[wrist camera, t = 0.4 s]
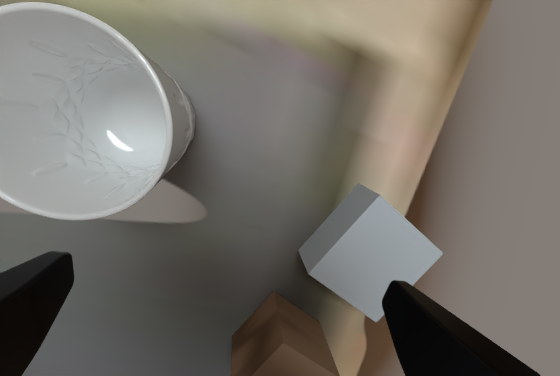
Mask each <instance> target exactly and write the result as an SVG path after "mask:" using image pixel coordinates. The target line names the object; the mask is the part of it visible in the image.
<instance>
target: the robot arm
mask: <svg viewBox="0 0 560 376" xmlns="http://www.w3.org/2000/svg"><path fill="white" fill-rule="evenodd" d="M73 283H74V271H73V261H72V256H71V254H70V253H68V252H59V251H50V252H47V253H45V254H42V255H40V256H38V257H36V258H33V259H31V260H29V261H27V262H24V263H22V264H20V265H18V266H15V267H13V268H11V269H9V270H7V271H4V272H2V273H0V376H22V374H23V373H24V371H25V370H26V368H27V367H28V365H29V364H30V362H31V361H32V359H33V357H34V356H35V354H36V353H37V351H38V350H39V348H40V346H41V344H42V343H43V341H44V339H45V337H46V335H47V333H48V331H49V330H50V328H51V326H52V324H53V322H54V320H55V318H56V316H57V315H58V313H59V311H60V309H61V307H62V305H63V303H64V301H65V299H66V298H67V296H68V294H69V292H70V290H71V288H72V286H73ZM382 308H383V311H384V314H385V317H386V321H387V324H388V327H389V330H390V333H391V337H392V340H393V343H394V347H395V349H396V352H397V355H398V358H399V361H400V363H401V366H402V368H403V371H404V373H405V376H540V375H539V374H538V373H537V372H535V371H534V370H533V369H531V368H530V367H528V366H527V365H526V364H524V363H523V362H521V361H520V360H518V359H517V358H515V357H514V356H513V355H511V354H510V353H508V352H507V351H505V350H504V349H502V348H501V347H500V346H498V345H497V344H495V343H494V342H492V341H491V340H490V339H488V338H487V337H485V336H484V335H482V334H481V333H479V332H478V331H477V330H475V329H474V328H472V327H471V326H469V325H468V324H467V323H465V322H463V321H462V320H461V319H459V318H458V317H456V316H455V315H454V314H452V313H451V312H449V311H448V310H446V309H445V308H444V307H442V306H441V305H439V304H438V303H436V302H435V301H433V300H432V299H430V298H429V297H427V296H426V295H425V294H423V293H422V292H420V291H419V290H418V289H416V288H415V287H413V286H412V285H410V284H409V283H408V282H406V281H400V280H393V281H391V282H390V284H389V286H388V288H387V290H386V292H385V294H384V296H383V299H382Z"/></svg>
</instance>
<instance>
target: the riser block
mask: <svg viewBox="0 0 560 376" xmlns="http://www.w3.org/2000/svg"><path fill="white" fill-rule="evenodd" d="M298 252H299V254H300V256H301V258H302V261H303V263H304V265H305V268H306V270H307V272H308V274H309V275H311V276H312V277H313V278H315V279H316V280H318V281H319V282H320V283H322V284H323V285H325V286H326V287H327V288H329V289H330V290H332V291H333V292H334V293H336V294H337V295H339V296H340V297H341V298H343V299H344V300H346V301H347V302H348V303H350V304H351V305H353V306H354V307H355V308H357V309H358V310H360V311H361V312H362V313H364V314H365V315H367V316H368V317H369V318H371V319H372V320H374V321H375V322H377V321H378V320H379V319H380V318H381V317H382V316H383V315H384V311H383V308H382V299H383V296H384V294H385V292H386V290H387V288H388V286H389V284H390V282H391V281H393V280H400V281H406V282H408V283H409V284H410V285H413V284H414V283H415V282H416V281H417V280H418V279H419V278H420V277H421V276H422V275H423V274H424V273H425V272H426V271H427V270H428V269H429V268H430V267H431V266H432V265H433V264H434V263H435V262H436V261H437V259H438V258H439V257H440V256H441V255H442V254H443V253H442V252H441V251H440V250H439V249H438V248H437V247H436V246H435V245H434V244H432V243H431V242H430V241H429V240H428V239H427V238H426V237H425V236H424V235H423V234H422V233H421V232H419V231H418V230H417V229H416V228H415V227H414V226H413V225H412V224H411V223H410V222H409V221H408V220H407V219H405V218H404V217H403V216H402V215H401V214H400V213H399V212H398V211H397V210H396V209H395V208H393V207H392V206H391V205H390V204H389V203H388V202H387V201H386V200H385V199H384V198H383V197H381V196H380V195H379V194H377V193H375V192H374V191H372V190H370V189H368V188H366V187H365V186H363V185H361V184H359V183H358V184H357V185H356V186H355V187H354V188H353V190H352V191H351V192H350V193H349V194H348V195H347V196H346V197H345V199H344V200H343V201H342V202H341V203H340V204H339V205H338V206H337V207H336V209H335V210H334V211H333V212H332V213H331V214H330V215H329V216H328V218H327V219H326V220H325V221H324V222H323V223H322V224H321V225H320V227H319V228H318V229H317V230H316V231H315V232H314V233H313V234H312V235H311V237H310V238H309V239H308V240H307V241H306V242H305V243H304V244H303V246H302V247H301V248H300V249H299V250H298Z"/></svg>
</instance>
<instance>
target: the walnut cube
mask: <svg viewBox="0 0 560 376" xmlns="http://www.w3.org/2000/svg"><path fill="white" fill-rule="evenodd" d="M231 376H340V375H339V373H338V370H337V367H336V365H335V362H334V360H333V357H332V354H331V352H330V349H329V346H328V344H327V341H326V339H325V336H324V333H323V331H322V328H321V325H320V323H319V322H318V321H317V320H316V319H314V318H313V317H311V316H310V315H308V314H307V313H305V312H304V311H302V310H301V309H299V308H298V307H296V306H295V305H293V304H292V303H290V302H289V301H287V300H286V299H285V298H283V297H282V296H280V295H279V294H277V293H276V292H274V291H273V292H272V293H271V294H270V295H269V297H268V298H267V299H266V300H265V301H264V302H263V303H262V304H261V305H260V306H259V307H258V309H257V310H256V311H255V312H254V313H253V314H252V315H251V316H250V317H249V318H248V319H247V320H246V322H245V323H244V324H243V325H242V326H241V327H240V328H239V329H238V330H237V331H236V332H235V334H234V335H233V336H232V353H231Z"/></svg>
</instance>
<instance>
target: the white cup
mask: <svg viewBox="0 0 560 376" xmlns="http://www.w3.org/2000/svg"><path fill="white" fill-rule="evenodd" d="M195 121H196V116H195V113H194V110H193V108H192V105H191V102H190V99H189V96H188V95H187V94H186V93H185V92H184V91H183V90H182V89H181V88H180V87H179V85H178V84H177V82H176V81H175V80H174V79H173V78H172V77H171V76H170V75H169V74H168V73H167V72H166V71H165V70H164V69H162V68H161V67H160V66H159V65H158V64H157V63H155V62H154V61H153V60H152V59H150V58H149V57H148V56H147V55H146V54H144V53H143V52H142V51H141V50H139V49H138V48H137V47H136V46H135V45H133V44H132V43H131V42H130V41H129V40H127V39H126V38H125V37H124V36H123V35H121V34H120V33H119V32H117V31H116V30H115V29H113V28H112V27H110V26H109V25H107V24H105V23H104V22H102V21H100V20H98V19H97V18H95V17H93V16H90V15H88V14H86V13H84V12H81V11H78V10H75V9H72V8H69V7H65V6H61V5H56V4H50V3H41V2H23V3H14V4H8V5H4V6H0V197H1V198H2V199H4V200H6V201H8V202H9V203H11V204H13V205H15V206H17V207H19V208H21V209H24V210H26V211H29V212H32V213H35V214H38V215H41V216H45V217H50V218H55V219H63V220H90V219H97V218H102V217H106V216H109V215H112V214H115V213H118V212H120V211H122V210H124V209H126V208H129V207H130V206H132V205H134V204H135V203H136V202H138V201H139V200H141V199H142V198H143V197H144V196H145V195H146V194H147V193H148V192H149V191H150V190H151V189H152V188H153V187H154V186H155V185H156V184H157V183H158V182H159V181H160V180H161V179H162V178H163V177H164V176H165V175H166V174H167V173H168V172H169V171H170V170H171V169H172V168H173V167H174V165H175V164H176V163H177V162H178V161H179V159H180V158H181V157H182V156H183V154H184V153H185V151H186V149H187V147H188V146H189V144H190V143H191V141H192V140H193V138H194V131H195Z"/></svg>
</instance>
